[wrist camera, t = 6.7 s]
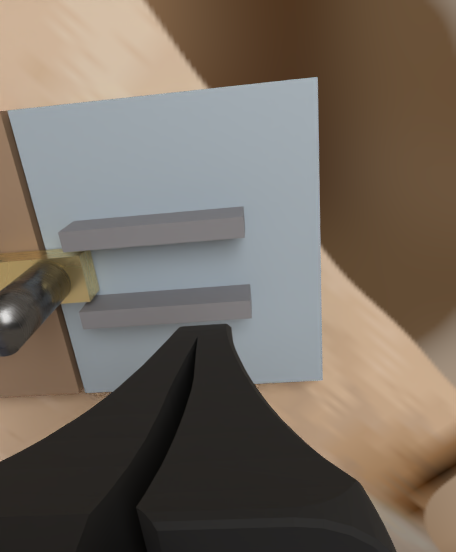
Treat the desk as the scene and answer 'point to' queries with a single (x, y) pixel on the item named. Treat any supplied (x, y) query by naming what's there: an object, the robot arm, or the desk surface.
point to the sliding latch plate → (169, 229)
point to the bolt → (40, 290)
